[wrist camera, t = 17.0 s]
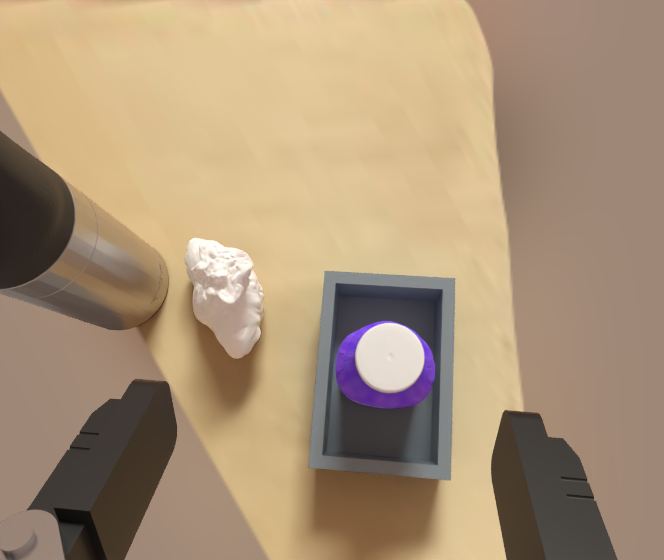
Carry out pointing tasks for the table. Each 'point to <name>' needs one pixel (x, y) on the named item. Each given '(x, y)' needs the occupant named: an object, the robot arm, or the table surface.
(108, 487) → the robot arm
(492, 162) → the table surface
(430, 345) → the tote
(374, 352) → the bottle
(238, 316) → the bust
